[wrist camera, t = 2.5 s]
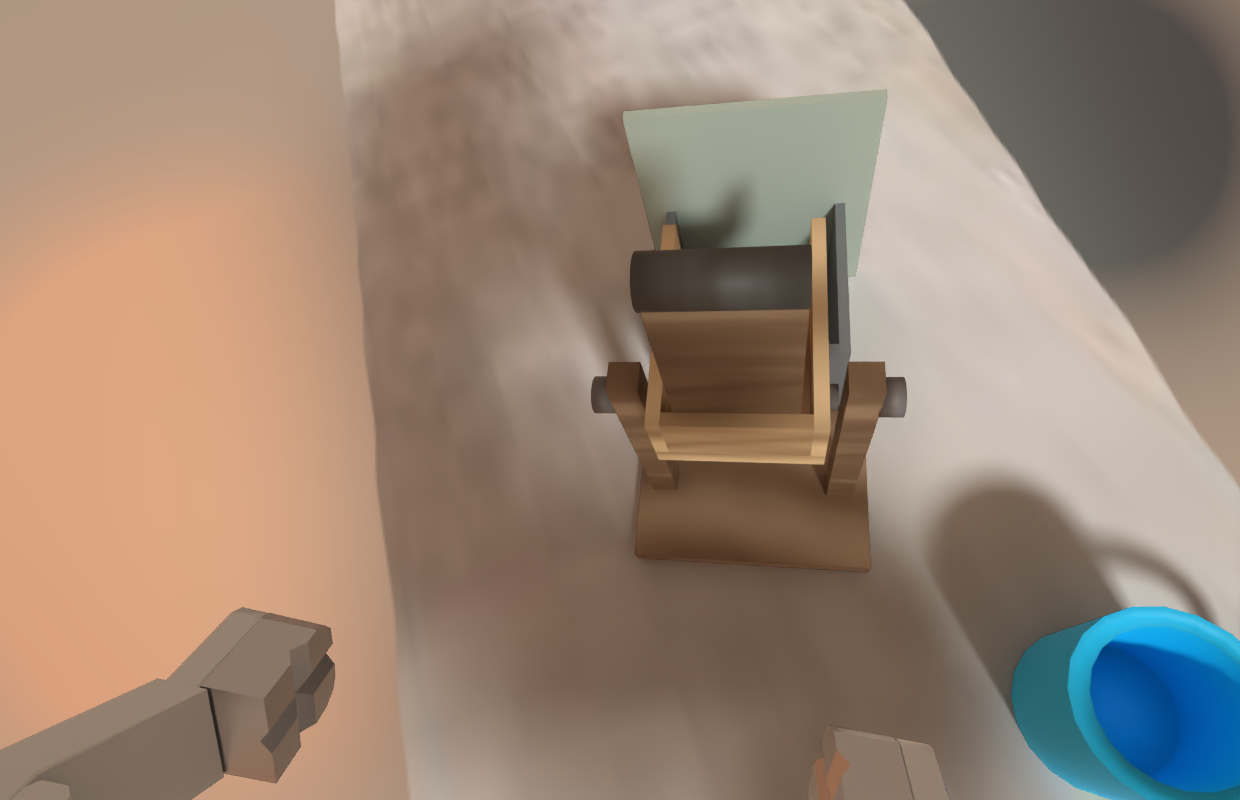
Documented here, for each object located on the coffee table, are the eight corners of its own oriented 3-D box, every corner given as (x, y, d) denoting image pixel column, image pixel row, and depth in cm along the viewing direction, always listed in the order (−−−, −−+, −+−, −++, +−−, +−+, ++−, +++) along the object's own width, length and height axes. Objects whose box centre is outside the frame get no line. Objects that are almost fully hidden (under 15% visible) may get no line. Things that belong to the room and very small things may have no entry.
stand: (869, 572, 42) (919, 491, 27) (636, 557, 45) (572, 478, 30) (863, 418, 46) (903, 278, 31) (649, 414, 49) (598, 286, 35)
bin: (861, 410, 46) (900, 268, 32) (651, 408, 49) (601, 277, 35) (855, 269, 50) (886, 89, 36) (663, 275, 53) (623, 111, 39)
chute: (838, 473, 31) (885, 290, 18) (647, 467, 33) (565, 298, 20) (833, 284, 35) (868, 22, 22) (663, 288, 37) (603, 50, 24)
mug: (1047, 809, 35) (1117, 831, 28) (987, 642, 39) (1036, 622, 32) (1305, 776, 34) (1449, 789, 27) (1218, 605, 37) (1325, 575, 30)
